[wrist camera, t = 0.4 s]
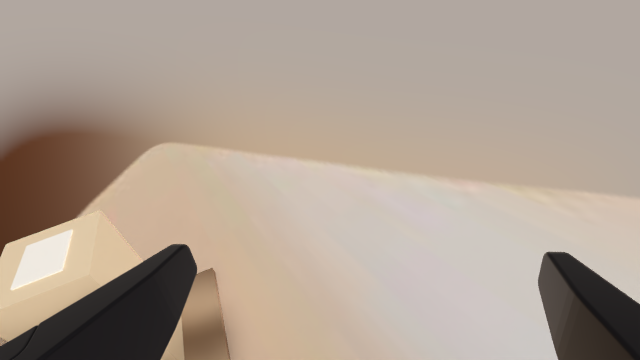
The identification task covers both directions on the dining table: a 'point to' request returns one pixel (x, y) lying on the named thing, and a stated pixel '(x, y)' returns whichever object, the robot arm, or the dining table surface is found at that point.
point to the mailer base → (204, 321)
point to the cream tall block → (64, 273)
